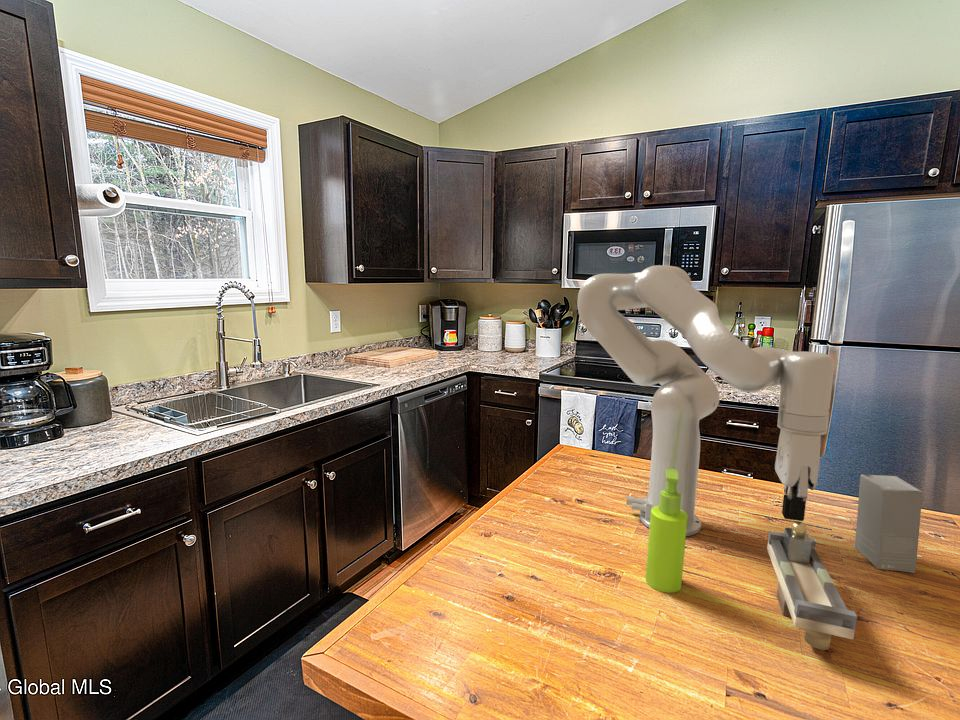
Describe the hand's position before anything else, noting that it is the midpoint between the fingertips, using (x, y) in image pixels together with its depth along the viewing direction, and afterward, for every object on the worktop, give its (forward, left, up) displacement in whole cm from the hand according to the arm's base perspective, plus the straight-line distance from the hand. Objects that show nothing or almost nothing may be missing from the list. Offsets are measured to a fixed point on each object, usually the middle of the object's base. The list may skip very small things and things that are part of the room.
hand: (792, 517), depth 91 cm
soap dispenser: (-22, -14, -10) cm, 27 cm away
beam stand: (-1, -14, -10) cm, 17 cm away
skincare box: (+17, +9, -10) cm, 22 cm away
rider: (-1, -7, -4) cm, 8 cm away
